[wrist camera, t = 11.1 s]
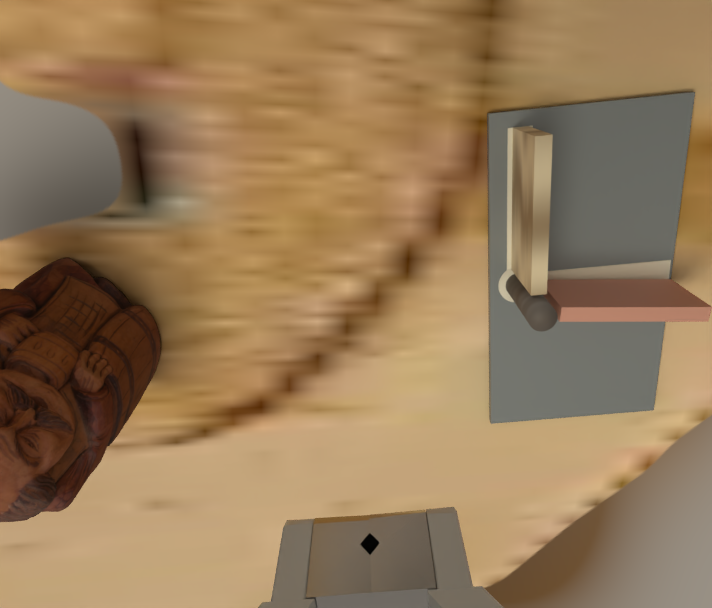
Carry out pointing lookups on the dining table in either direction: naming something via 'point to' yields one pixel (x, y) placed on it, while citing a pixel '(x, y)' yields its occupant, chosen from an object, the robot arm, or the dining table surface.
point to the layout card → (587, 252)
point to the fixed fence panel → (531, 225)
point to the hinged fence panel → (624, 301)
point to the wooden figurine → (65, 382)
